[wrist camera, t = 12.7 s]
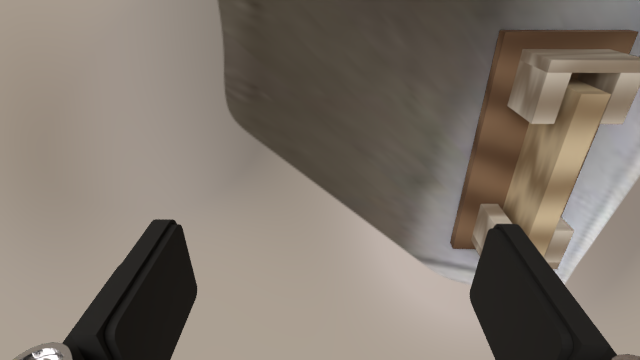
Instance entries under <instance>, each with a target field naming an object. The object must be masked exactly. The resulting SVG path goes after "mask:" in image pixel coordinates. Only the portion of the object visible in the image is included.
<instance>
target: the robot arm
mask: <svg viewBox="0 0 640 360" xmlns="http://www.w3.org/2000/svg"><path fill="white" fill-rule="evenodd" d="M196 295H197V284H196V280H195V277H194V273H193V269H192V265H191V261H190V257H189V253H188V249H187V245H186V241H185V237H184V233H183V229H182V226H181V225H177V223H176V222H175V220H153V221H152V222H151V224H150V225H149V226H148V228H147V229H146V230H145V232H144V233H143V235H142V236H141V238H140V239H139V240H138V242H137V243H136V245H135V246H134V247H133V249H132V250H131V251H130V253H129V254H128V255H127V257H126V258H125V260H124V261H123V262H122V264H121V265H119V266H118V267H117V269H116V270H115V271H114V273H113V274H112V276H111V277H110V278H109V280H108V281H107V282H106V284H105V285H104V287H103V288H102V289H101V291H100V292H99V293H98V295H97V296H96V298H95V299H94V300H93V302H92V303H91V304H90V306H89V307H88V309H87V310H86V311H85V313H84V314H83V315H82V317H81V318H80V320H79V321H78V322H77V324H76V325H75V327H74V328H73V329H72V331H71V332H70V333H69V335H68V336H67V337H66V339H65V340H64V342H63V343H54V342H52V343H46V344H41V345H38V346H36V347H33V348H30V349H29V350H27V351H25V352H23V353H22V354H20V355H18V356H17V357H16V358H14V359H13V360H170V359H171V356H172V354H173V352H174V349H175V347H176V345H177V342H178V340H179V337H180V335H181V332H182V330H183V328H184V325H185V323H186V320H187V318H188V315H189V313H190V311H191V308H192V306H193V304H194V301H195V298H196ZM470 300H471V303H472V306H473V308H474V311H475V313H476V315H477V318H478V320H479V322H480V325H481V327H482V329H483V332H484V334H485V336H486V339H487V341H488V343H489V346H490V348H491V350H492V353H493V355H494V357H495V360H640V356H635V355H630V354H625V355H624V354H623V355H617V354H616V353H615V352H614V351H613V349H612V348H611V346H610V345H609V344H608V342H607V341H606V340H605V338H604V337H603V336H602V334H601V333H600V332H599V330H598V329H597V328H596V326H595V325H594V324H593V322H592V321H591V320H590V318H589V317H588V316H587V314H586V313H585V312H584V310H583V309H582V308H581V306H580V305H579V304H578V302H577V301H576V300H575V298H574V297H573V296H572V294H571V293H570V292H569V290H568V289H567V288H566V287H565V285H564V284H563V282H562V281H561V280H560V279H559V277H558V276H557V275H556V273H555V272H554V271H553V269H552V268H551V267H550V265H549V264H548V263H547V261H546V260H545V259H544V257H543V256H542V255H541V253H540V252H539V251H538V249H537V248H536V247H535V245H534V244H533V243H532V241H531V240H530V239H529V237H528V236H527V235H526V233H525V232H524V231H523V229H522V228H521V227H520V226H519V225H518V224H496V225H495V226H494V228H491V229H489V230H488V232H487V236H486V239H485V242H484V246H483V249H482V252H481V256H480V259H479V262H478V266H477V269H476V273H475V276H474V279H473V283H472V286H471V289H470Z"/></svg>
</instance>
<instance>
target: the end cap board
mask: <svg viewBox="0 0 640 360" xmlns="http://www.w3.org/2000/svg"><path fill="white" fill-rule="evenodd" d="M637 34H638V32H636V31H631V30H500V32H499V36H498V41H497V45H496V49H495V53H494V58H493V62H492V66H491V70H490V75H489V79H488V83H487V88H486V92H485V96H484V100H483V105H482V109H481V113H480V117H479V122H478V126H477V130H476V135H475V139H474V143H473V147H472V152H471V156H470V160H469V164H468V169H467V173H466V177H465V182H464V186H463V190H462V194H461V199H460V203H459V207H458V211H457V216H456V220H455V224H454V229H453V233H452V237H451V241H450V243H451V245H452V248H453V249H476V250H477V252H478V254H479V256H481V252H482V249H483V246H484V242H485V239H486V236H487V232H488V230H489V229H491V228H494V226H495V225H496V224H512V223H511V221H510V220H509V218H508V217H507V216H506V214H505V213H504V212H503V206H504V203H505V200H506V197H507V193H508V190H509V187H510V184H511V181H512V177H513V174H514V171H515V168H516V164H517V161H518V158H519V155H520V151H521V148H522V145H523V142H524V138H525V135H526V132H527V129H528V125H529V122H530V123H531V124H554V123H555V120H556V117H557V114H558V111H559V108H560V106H561V103H562V100H563V97H564V94H565V91H566V88H567V86H568V83H569V80H570V77H572V78H574V79H576V80H579V81H581V82H583V83H586V84H588V85H590V86H593V87H595V88H597V89H600V90H602V91H604V92H607V93H609V94H611V96H610V98H609V101H608V103H607V105H606V108H605V110H604V113H603V115H602V117H601V120H600V122H599V125H600V124H623V122H624V120H625V118H626V115H627V113H628V111H629V109H630V107H631V104H632V102H633V100H634V98H635V95H636V93H637V91H638V89H639V87H640V57H637V56H633V55H629V53H630V51H631V48H632V46H633V44H634V41H635V39H636V36H637ZM599 125H598V127H599ZM598 127H597V130H598ZM597 130H596V132H597ZM596 132H595V134H594V137H595V135H596ZM594 137H593V139H594ZM593 139H592V142H593ZM592 142H591V144H592ZM591 144H590V146H589V149H590V147H591ZM589 149H588V151H589ZM588 151H587V154H588ZM587 154H586V156H587ZM586 156H585V159H586ZM585 159H584V161H585ZM584 161H583V163H584ZM583 163H582V166H583ZM582 166H581V168H582ZM581 168H580V171H581ZM580 171H579V173H580ZM579 173H578V175H579ZM578 175H577V178H578ZM577 178H576V180H577ZM576 180H575V182H576ZM574 185H575V183H574ZM574 185H573V187H574ZM572 190H573V188H572ZM572 190H571V192H572ZM571 192H570V194H571ZM569 197H570V195H569ZM569 197H568V199H569ZM567 202H568V200H567ZM567 202H566V204H567ZM566 204H565V206H566ZM564 209H565V207H564ZM564 209H563V211H564ZM562 214H563V212H562ZM562 214H561V216H562ZM573 233H574V230H573V229H572V228H571V227H570V226H569V225H568V224H567V223H566V222H565V221H564V220H563V219H562V217H560V219H559V221H558V224H557V226H556V229H555V231H554V233H553V236H552V238H551V241H550V243H549V246H548V248H547V250H546V253H545V255H544V259H545V260H546V261H547V263H548V264H549V265H550V267H551V268H552V269H557V268H558V266H559V264H560V261H561V259H562V257H563V255H564V253H565V250H566V248H567V246H568V244H569V241H570V239H571V237H572V235H573Z"/></svg>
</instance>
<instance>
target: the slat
mask: <svg viewBox="0 0 640 360" xmlns="http://www.w3.org/2000/svg"><path fill="white" fill-rule="evenodd" d="M610 96H611V94H609V93H607V92H604V91H602V90H600V89H597V88H595V87H593V86H590V85H588V84H586V83H583V82H581V81H579V80H576V79H574V78H572V77H570V80H569V83H568V86H567V88H566V91H565V94H564V97H563V100H562V103H561V106H560V108H559V111H558V114H557V117H556V120H555V123H554V124H531V123H530V122H529V125H528V129H527V132H526V135H525V138H524V142H523V145H522V148H521V151H520V155H519V158H518V161H517V164H516V168H515V171H514V174H513V177H512V181H511V184H510V187H509V190H508V193H507V197H506V200H505V203H504V206H503V212H504V213H505V214H506V216H507V217H508V218H509V220H510V221H511V223H512V224H518V225H519V226H520V227H521V228H522V229H523V231H524V232H525V233H526V235H527V236H528V237H529V239H530V240H531V241H532V243H533V244H534V245H535V247H536V248H537V249H538V251H539V252H540V253H541V255H542V256H543V257H544V255H545V253H546V250H547V248H548V246H549V243H550V241H551V238H552V236H553V233H554V231H555V229H556V226H557V224H558V221H559V219H560V217H561V214H562V212H563V209H564V207H565V204H566V202H567V200H568V197H569V195H570V192H571V190H572V188H573V185H574V183H575V180H576V178H577V175H578V173H579V171H580V168H581V166H582V163H583V161H584V159H585V156H586V154H587V151H588V149H589V146H590V144H591V142H592V139H593V137H594V134H595V132H596V130H597V127H598V125H599V122H600V120H601V117H602V115H603V113H604V110H605V108H606V105H607V103H608V101H609V98H610Z"/></svg>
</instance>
